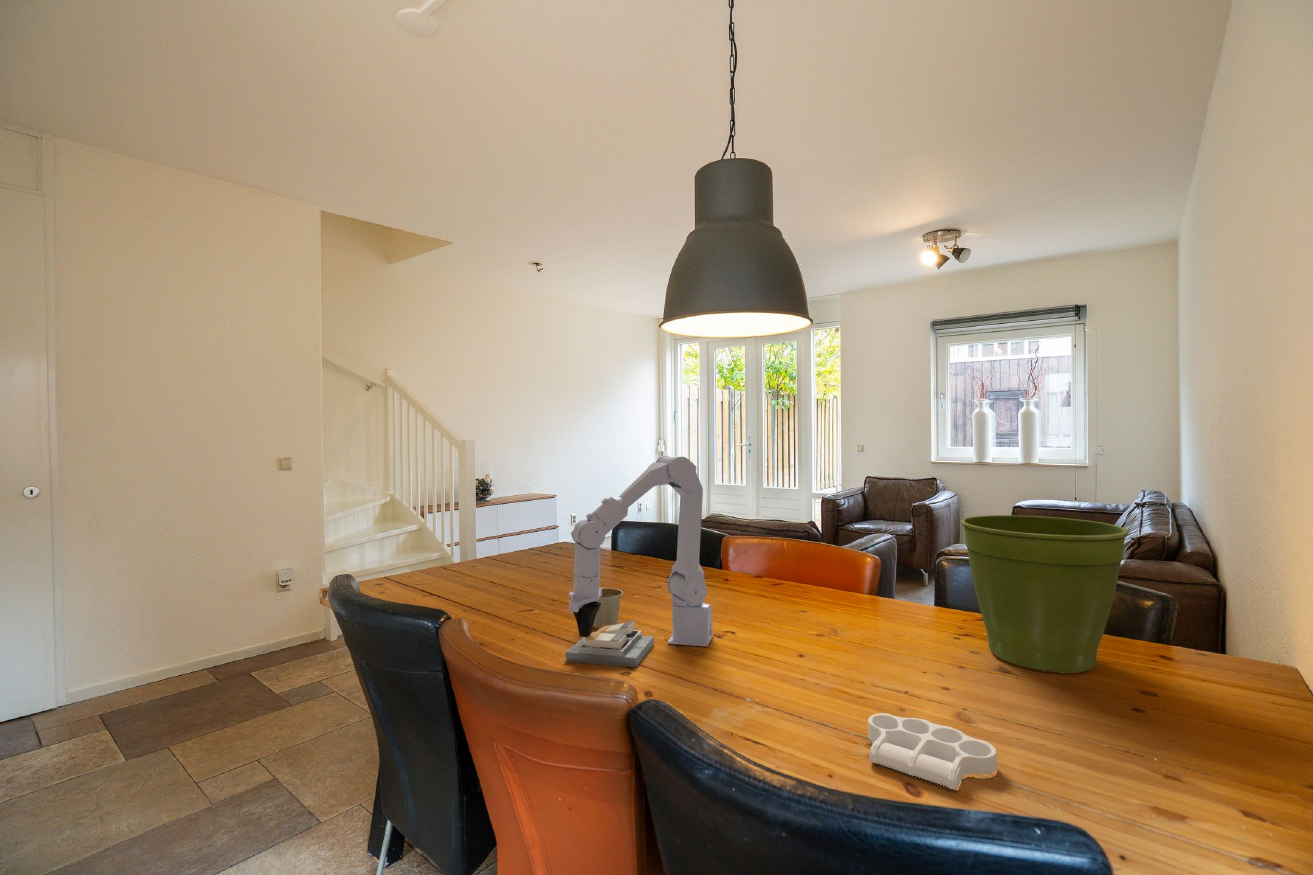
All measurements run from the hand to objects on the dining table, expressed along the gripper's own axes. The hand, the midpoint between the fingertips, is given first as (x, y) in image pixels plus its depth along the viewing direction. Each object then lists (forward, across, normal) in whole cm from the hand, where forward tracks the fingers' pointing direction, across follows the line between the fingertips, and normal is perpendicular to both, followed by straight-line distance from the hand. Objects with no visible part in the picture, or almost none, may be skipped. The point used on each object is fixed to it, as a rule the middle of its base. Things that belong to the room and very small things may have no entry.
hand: (585, 636), depth 131 cm
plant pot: (0, -22, +96) cm, 98 cm away
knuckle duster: (+3, +26, +66) cm, 71 cm away
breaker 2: (0, 0, +5) cm, 5 cm away
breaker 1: (0, -7, +5) cm, 9 cm away
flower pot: (+5, -22, -3) cm, 22 cm away
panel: (+4, -4, +5) cm, 8 cm away
